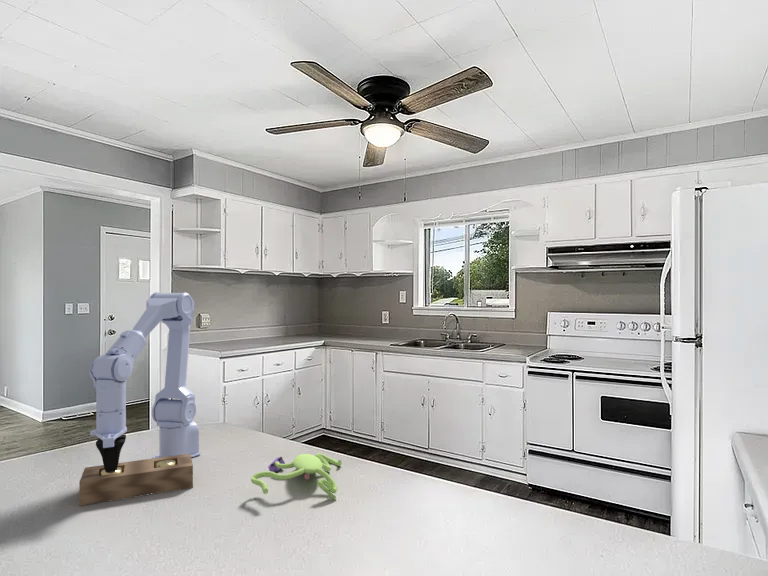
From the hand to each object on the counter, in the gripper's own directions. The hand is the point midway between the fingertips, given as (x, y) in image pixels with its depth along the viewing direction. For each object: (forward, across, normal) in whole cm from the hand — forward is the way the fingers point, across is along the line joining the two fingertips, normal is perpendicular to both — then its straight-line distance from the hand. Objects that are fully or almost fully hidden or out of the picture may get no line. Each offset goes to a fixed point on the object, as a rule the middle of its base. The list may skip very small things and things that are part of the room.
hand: (111, 471), depth 108 cm
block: (+5, 0, +6) cm, 7 cm away
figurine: (+6, +12, +40) cm, 42 cm away
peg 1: (+5, 0, 0) cm, 5 cm away
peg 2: (+5, 0, +11) cm, 12 cm away
